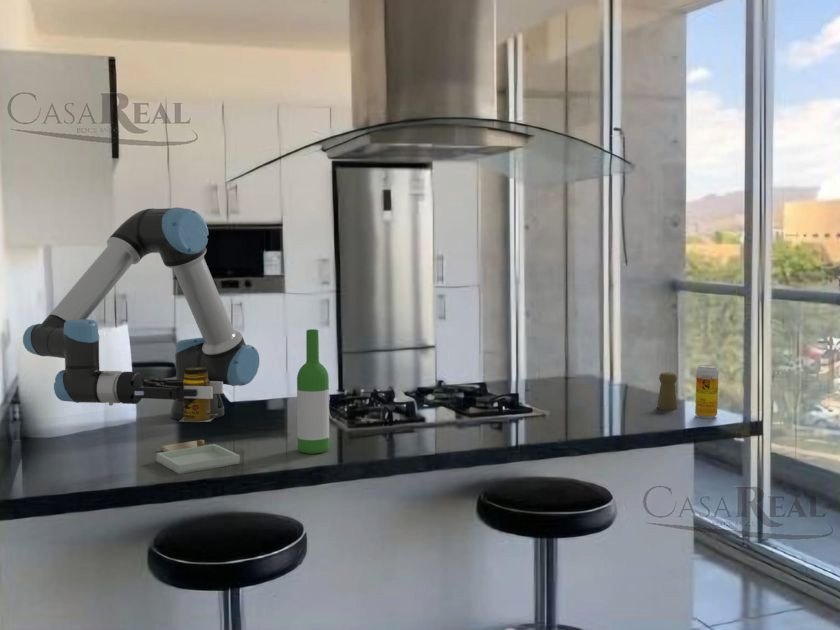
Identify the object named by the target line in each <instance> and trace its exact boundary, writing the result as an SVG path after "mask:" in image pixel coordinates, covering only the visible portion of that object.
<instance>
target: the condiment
mask: <svg viewBox="0 0 840 630" xmlns="http://www.w3.org/2000/svg"><path fill="white" fill-rule="evenodd" d="M184 372H185V373H184V374H185V375H184V378H185V379H184V381H183V389H184V386H210V381H209V379H208V374H207V372H208V370H207V368H205V367H191V368H186V369H185V370H184ZM183 406H184V418H183V419H181V420H178V422H179V423H181V422H182V423H185V422H186V423H201V422H212V421H213V420H214V419H216V418H215V417H216V416H217V415H218V414H210V399H198V398H184V396H183Z"/></svg>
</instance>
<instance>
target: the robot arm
mask: <svg viewBox="0 0 840 630" xmlns="http://www.w3.org/2000/svg"><path fill="white" fill-rule="evenodd" d="M208 236H209V228H208V226H207V223H206V220H205V219H204V217H202V215H201V214H199V212H197V211H195V210H193V209H191V208H183V207H171V208H170V207H169V208H145V209H142V210H140V211H138V212H136V213H134V214H133V215H131V216H130V217H129V218H127V219H126V220H125V221H124V222H122V224H121V225H119V226H118V228H116V230H115V231H114V232H113V233H112V234H111V235H110V236H109V238H108V239H107V240H106V245H107V246H106V247H105V248H104V250H103V251H102V253H100V254H99V256H98V257H97V258H96V259H95V260H94V262H93V263H91V265H90V266H89V268H88V269H86V271H85V272H84V274H83V275H82V276H81V277H80V278H79V279H78V281H76V283H75V284H74V285H73V286H72V288H71V289H69V291H68V292H67V293H66V295H65V296H64V297H63V298H62V299H61V301H59V303H58V304H57V305H56V306H55V308H53V310H52V311H51V312H50V314H49V315H48V316H47V317H45V319H44V320H43V321H42V323H37V324H32V325H30V326H29V327H27V328H26V329H25V330H24V333H23V335H22V344H23V347H24V348H25V350H26V351H28V352H29V353H31V354H32V355H36V356H40V357H50V358H51V357H52V358H60V359H64V366H65V367H64V369H62V370H60V371H58V373H56V375H55V378H54V381H55V382H54V383H53V391H54V395H55V397H56V398H57V399H58V400H60V401H63V402H69V403H70V402H71V403H72V402H73V403H76V404H77V403H78V404H79V403H84V404H85V403H90V404H91V403H92V404H93V403H94V404H96V403H97V404H98V403H99V404H106V403H108V405H109V406H113V405H114V404H123V405H125V404H127V405H137V404H139V403H140V401H142V399H153V400H172V402H173V403H172V405H171V408H170V409H171V410H170V417H171V418H172V419H174V420H178V421H180V420H181V419H183V418H184V406H183V396H184V398H198V399H210V414H218V415H217V416H216V417H215V418H214V419H217V418H221V417H223V416H224V415H225V405H224V403H223V400H222V397H221V394H224V385H228V386H232V387H235V386H237V387H239V386H240V387H241V386H242V387H243V386H246V385H248V384H249V383H251V382H252V381H253V379H255V377H256V375H257V373H258V370H259V368H260V354H259V351H258V349H257V348H255V347H254V346H253V345H251V344H246V342H245V340H244V337H243V335H242V333H241V332H240V331H238V330H235V329H234V328H233V324H232V322H231V320H230V317H229V316H228V313H227V310H226V308H225V305H224V303H223V301H222V298H221V296H220V294H219V291H218V288H217V286H216V283H215V281H214V278H213V276H212V273H211V272H210V271H211V270H210V269H209V265H207V262H206V259H205V255H206V253H207V244H208V242H209V241H208V240H209V238H208ZM149 254H159V256H160V258H161V260H162V262H163V264H164V266H165V267H167V268H170V269H172V270H173V273H174V275H175V277H176V279H177V281H178V285H179V287H180V288H181V291H182V293H183V295H184V298H185V300H186V303H187V305H188V307H189V309H190V312H191V313H192V316H193V319H194V321H195V323H196V326H197V328H198V330H199V332H200V334H201V336H202V337H194V338H186V339H181V340H179V341H177V343H175V375H176V376H175V377H176V378H174V379H173V378H162V377H160V378H157V379H156V378H148V379H145V380H144V378H143V374H141V373H140V372H138V371H122V370H100V335H99V326H98V325H99V324H98V322H97V321H96V320H94V319H89V317H90V316H91V314H92V313H93V312H94V311H95V310H96V309H97V308H98V306H99V305H100V304H101V302H102V301H103V300H104V299H105V298H106V296H107V295H108V294H109V292H110V291H111V290H112V289H113V288H114V287H115V286H116V284H117V283H118V282H119V280H120V279H121V278H122V277H123V276H124V274H125V273H126V272H127V271H128V270H129V268H130V267H131V266H132V265H136V264H138V263H139V262H140V261H141V260H142V259H143V258H144V257H145V256H147V255H149ZM191 367H205V368H207V370H208V372H207V374H208V379H209V381H210V386H184V389H183V381H184V379H185V378H184V375H185V374H184V373H185V372H184V370H185V369H186V368H191Z"/></svg>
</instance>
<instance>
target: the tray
mask: <svg viewBox="0 0 840 630" xmlns="http://www.w3.org/2000/svg"><path fill="white" fill-rule="evenodd" d="M204 445H205V446H198V447H192V448H186V449H179V450H173V451H167V452H164V451H162V452H161V451H160V452H156V462H157V463H158V464H161V465H162V466H163V467H166V468H167V469H169V470H171V471H173V472H174V473H176V474H178V475H184V474H190V473H196V472H200V471H206V470H207V471H208V470H211V469H218V468H224V467H228V466H234V465H240V464H241V460H240V459H241V457H240V456H241V455H240V454H239V453H235V452H234V451H231V450H229V449H227V448H225V447H223V446H221V445H218V444H217V443H212V444H204Z"/></svg>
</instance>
